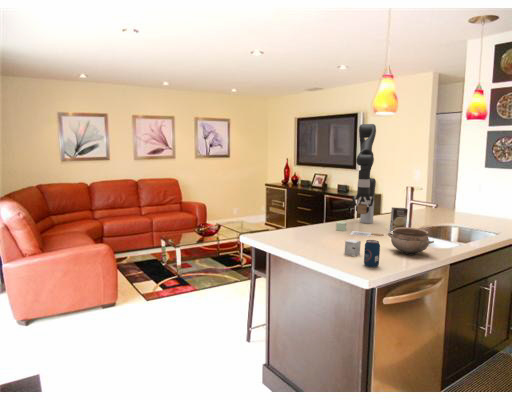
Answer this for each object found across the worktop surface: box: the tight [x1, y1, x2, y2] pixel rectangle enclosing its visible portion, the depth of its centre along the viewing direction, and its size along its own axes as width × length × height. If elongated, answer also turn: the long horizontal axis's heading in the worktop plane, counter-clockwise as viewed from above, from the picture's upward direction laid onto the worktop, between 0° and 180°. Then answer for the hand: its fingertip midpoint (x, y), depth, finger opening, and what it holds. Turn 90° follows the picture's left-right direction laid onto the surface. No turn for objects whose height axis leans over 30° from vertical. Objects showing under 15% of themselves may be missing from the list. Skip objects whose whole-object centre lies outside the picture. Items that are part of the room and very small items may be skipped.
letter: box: [348, 230, 373, 238], centre depth 255 cm, size 12×13×1 cm
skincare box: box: [344, 238, 362, 257], centre depth 206 cm, size 6×6×7 cm
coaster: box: [371, 232, 384, 237], centre depth 252 cm, size 8×8×1 cm
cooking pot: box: [387, 226, 435, 255], centre depth 210 cm, size 25×19×12 cm
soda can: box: [363, 239, 381, 269], centre depth 187 cm, size 7×7×12 cm
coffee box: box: [389, 206, 409, 232], centre depth 262 cm, size 9×6×16 cm
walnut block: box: [356, 203, 367, 215], centre depth 252 cm, size 6×6×6 cm
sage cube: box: [335, 221, 347, 232], centre depth 264 cm, size 6×6×6 cm
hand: (362, 212), depth 253 cm, fingers closed on walnut block, 5 cm apart
